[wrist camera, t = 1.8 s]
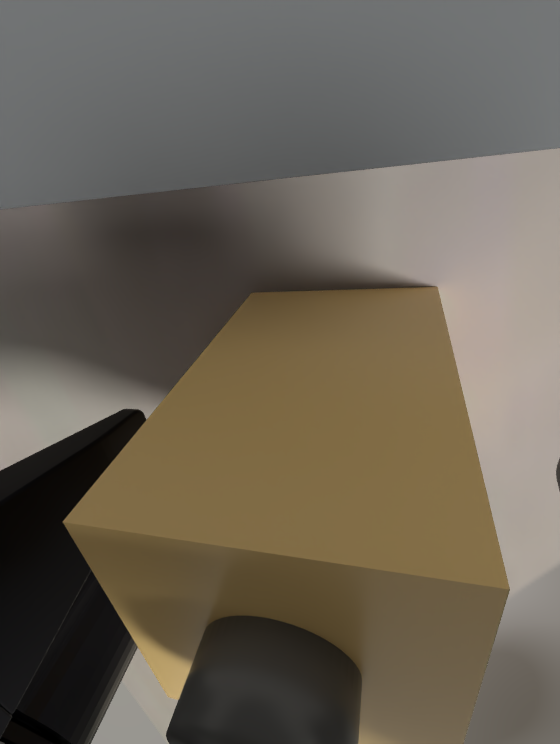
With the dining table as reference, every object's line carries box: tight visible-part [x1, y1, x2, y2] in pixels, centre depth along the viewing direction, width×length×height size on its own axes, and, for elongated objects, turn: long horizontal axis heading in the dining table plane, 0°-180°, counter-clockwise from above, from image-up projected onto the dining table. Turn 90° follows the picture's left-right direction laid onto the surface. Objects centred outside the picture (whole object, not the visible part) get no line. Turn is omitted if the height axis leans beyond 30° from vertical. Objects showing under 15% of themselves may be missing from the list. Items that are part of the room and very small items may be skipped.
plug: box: [63, 287, 510, 744], centre depth 7 cm, size 4×4×8 cm
